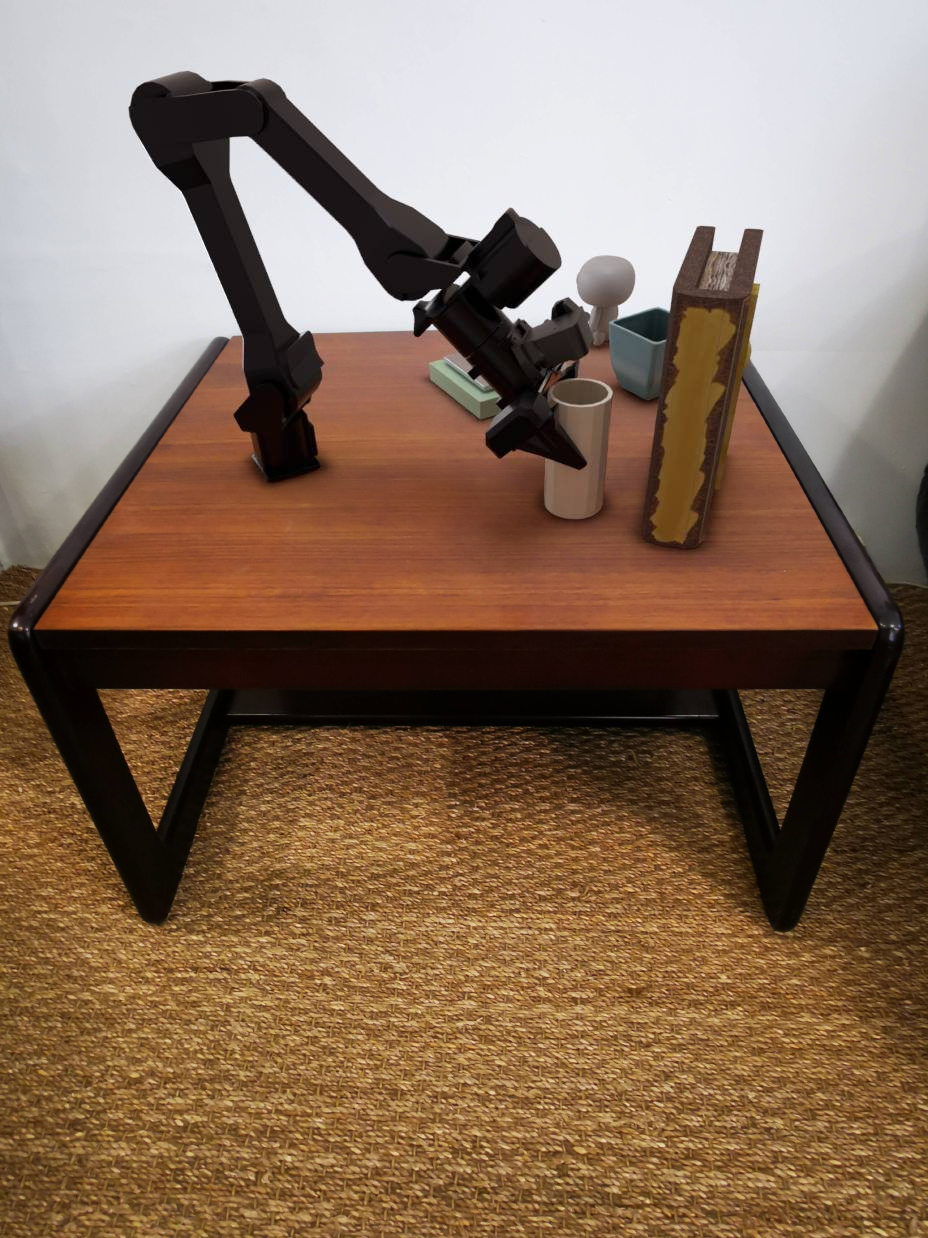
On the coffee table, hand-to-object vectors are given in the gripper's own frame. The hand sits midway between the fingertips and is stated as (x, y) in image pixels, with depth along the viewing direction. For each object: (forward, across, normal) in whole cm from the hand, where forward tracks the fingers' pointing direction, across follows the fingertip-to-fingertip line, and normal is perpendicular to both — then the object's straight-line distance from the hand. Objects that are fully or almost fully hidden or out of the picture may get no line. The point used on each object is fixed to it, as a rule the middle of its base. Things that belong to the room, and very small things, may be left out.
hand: (589, 451), depth 86 cm
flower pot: (+7, +29, +3) cm, 30 cm away
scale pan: (-9, +26, +14) cm, 31 cm away
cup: (+4, 0, +6) cm, 7 cm away
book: (+12, +6, -2) cm, 13 cm away
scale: (-7, +26, +16) cm, 32 cm away
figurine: (+1, +43, +9) cm, 44 cm away
